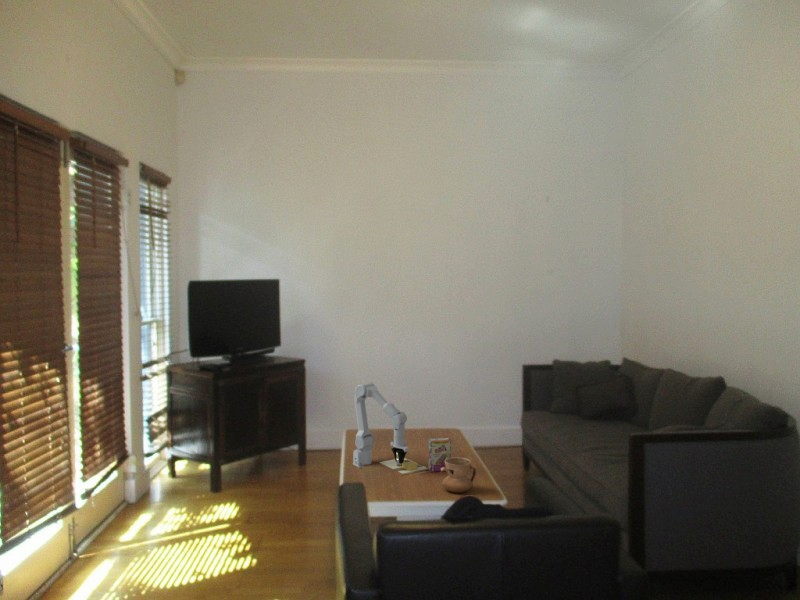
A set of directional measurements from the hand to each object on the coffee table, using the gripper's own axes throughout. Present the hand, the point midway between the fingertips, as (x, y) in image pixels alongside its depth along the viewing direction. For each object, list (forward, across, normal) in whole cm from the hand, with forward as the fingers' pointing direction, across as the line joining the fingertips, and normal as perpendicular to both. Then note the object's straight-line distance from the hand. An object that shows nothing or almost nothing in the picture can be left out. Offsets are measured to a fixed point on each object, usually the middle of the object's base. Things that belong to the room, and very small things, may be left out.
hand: (399, 462), depth 352 cm
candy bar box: (+5, -10, -18) cm, 22 cm away
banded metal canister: (+2, 0, 0) cm, 2 cm away
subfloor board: (+5, +5, -6) cm, 9 cm away
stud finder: (+4, 0, -5) cm, 7 cm away
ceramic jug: (+5, -40, -8) cm, 41 cm away
